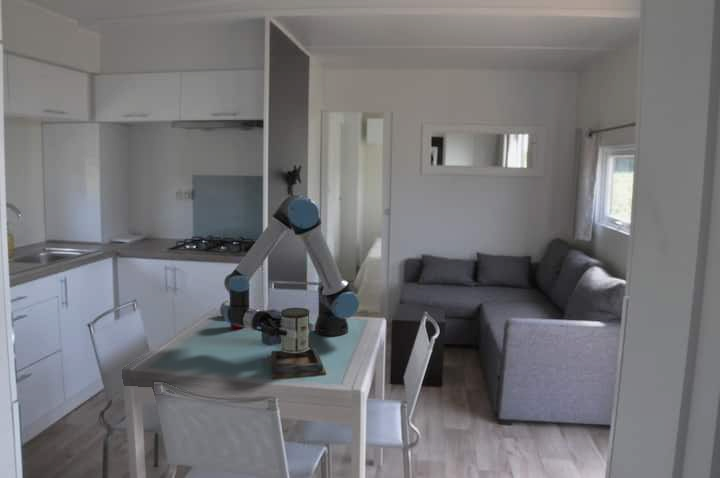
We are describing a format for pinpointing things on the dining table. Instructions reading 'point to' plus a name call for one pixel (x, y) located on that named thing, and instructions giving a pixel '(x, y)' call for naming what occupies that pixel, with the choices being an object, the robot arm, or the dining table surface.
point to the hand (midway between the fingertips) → (304, 330)
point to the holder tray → (295, 364)
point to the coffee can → (299, 323)
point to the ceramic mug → (223, 307)
